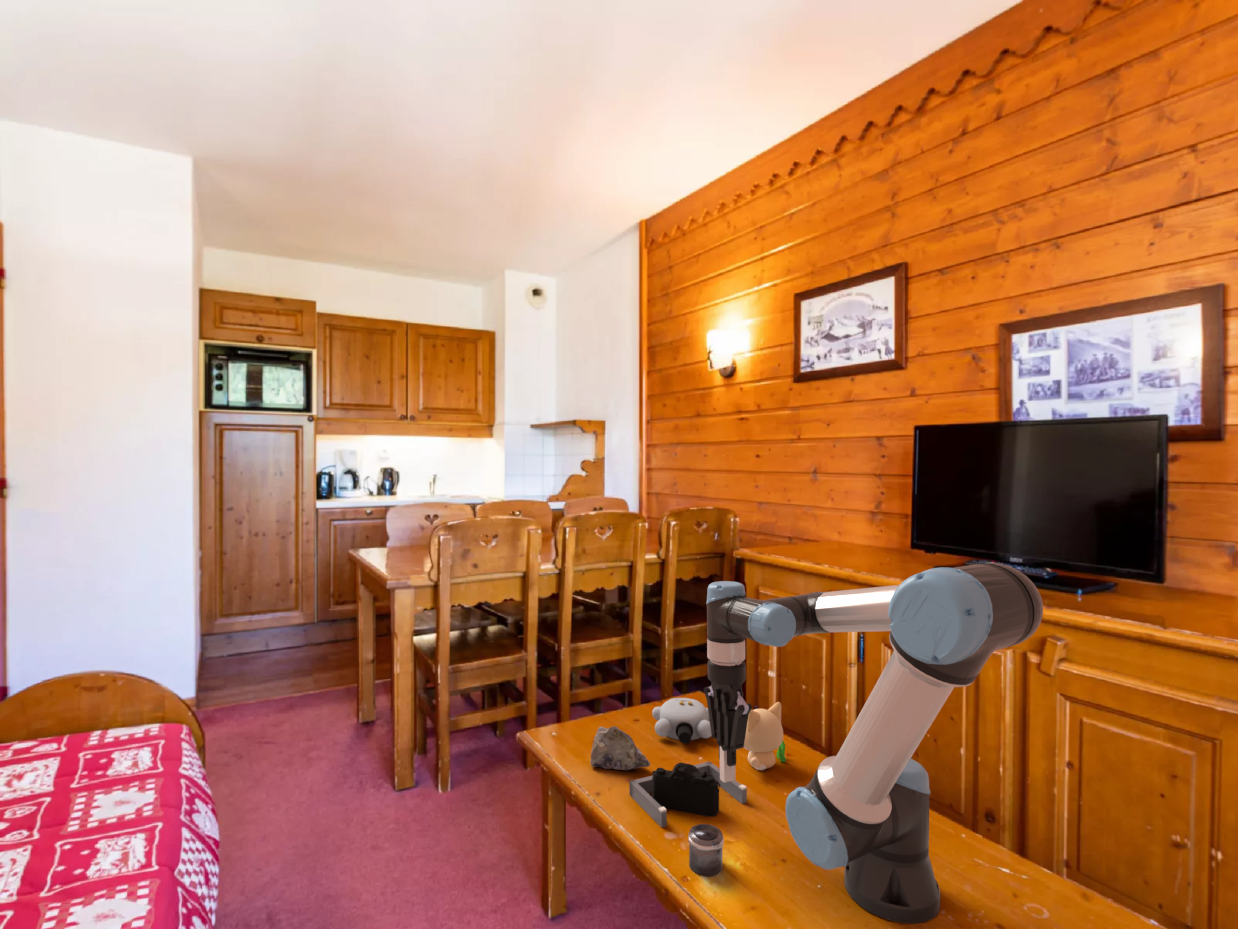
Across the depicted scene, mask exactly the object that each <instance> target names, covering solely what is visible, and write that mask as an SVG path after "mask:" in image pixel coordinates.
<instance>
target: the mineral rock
mask: <svg viewBox="0 0 1238 929" xmlns="http://www.w3.org/2000/svg"><path fill="white" fill-rule="evenodd" d="M590 766H591V767H593V768H595V767H597V768H603V769H605V770H606V769H607V770H611V769H613V770H616V771H617V770H618V771H619V770H622V771H630V770H633V769H636V770H637V769H639V768H641V767H642V768H648V767H650V766H651V762H650V761H649V759H648V758H647V757H646V756H645V754H643V752H642V751H641V749H640V748H638V747H637V746H636V744H635V742H634V740H633V738H632V737H631V735H629V734H627V733H626V732H625V731H623V730H621V729H620V728H619V727H618V726H616V725H615V726H610V727H609V728H607V727H604V726H599V727H598V729H597V731H596V734H595V736H594V738H593V742H592V747H591V752H590Z"/></svg>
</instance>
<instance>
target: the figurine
mask: <svg viewBox="0 0 1238 929" xmlns="http://www.w3.org/2000/svg"><path fill="white" fill-rule="evenodd" d="M651 712H652V713H651V714H652V717H653V719H655V720H657V721H656V722H655V724H654V730H655V733H656V735H658V736H660V737H662V738H663V737H664V738H665V737H667V738H670V739H672V740H677V741H679V742H680V743H681V744H682V745H687V744H689V743H690V742H691V741H695V740H698V739H700V738H702V739H709V738H712V735H711V727H710V720H709V713H708V707H705V705H704V704H703V703H702V702H700V701H699V700H696V699H694V698H688V697H675V698H670V699H668V700H666V701H665V702H664V703H663V704H662V705H661V706H660V705H659V706H655V707H654V708H653V709H652V711H651Z"/></svg>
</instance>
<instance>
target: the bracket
mask: <svg viewBox="0 0 1238 929" xmlns="http://www.w3.org/2000/svg"><path fill="white" fill-rule="evenodd" d="M693 765H694V766H695V767H696V768H697V769H698V770H699V772H700V773H702V774H703V773H704V772H706V773H707V776H713V777H714V779H716V781H718V782H719V784H720V787H719V788H721V789H722V790H724V791H725V792H727V793H728V794H729V795H730V796H732V798H734V799H735V800H736V801H738V802H739V803H740V804H741V805H742V804H747V801H748V800H747V797H748V795H747V793H748V792H747V790H748V789H747V786H746V785H745V784H741V783H740V782H738V781H737V780H733V781H729V782H725V783H724V782H723V781H721V780H720V767H718V766H717V765H715V764H714V763H712V762H711V761H704V762H702V763H697V764H693ZM652 777H653V775H650V776H649V775H648V776H645V777H640V778H637V779H632V780H629V782H628V783H629V788H628V789H629V796H630V797H631V798H632V799H633V800H634V801H635V803H637V804H638V805H639V806H640V808H642V809H643V810H644V811H645V812H646V813H647V815H648V816H650V818H652V820H653V821H654V822H655V824H657V825H658V826H659V827H660V828H665V827H667V826H668V824H667V811H668V809H666V808H665V807H664V806H663V807H662V806H661V805H660V804H659V803H658V802H656V801H655V800H654V799H653V798H652V795H651V794H652Z"/></svg>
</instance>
